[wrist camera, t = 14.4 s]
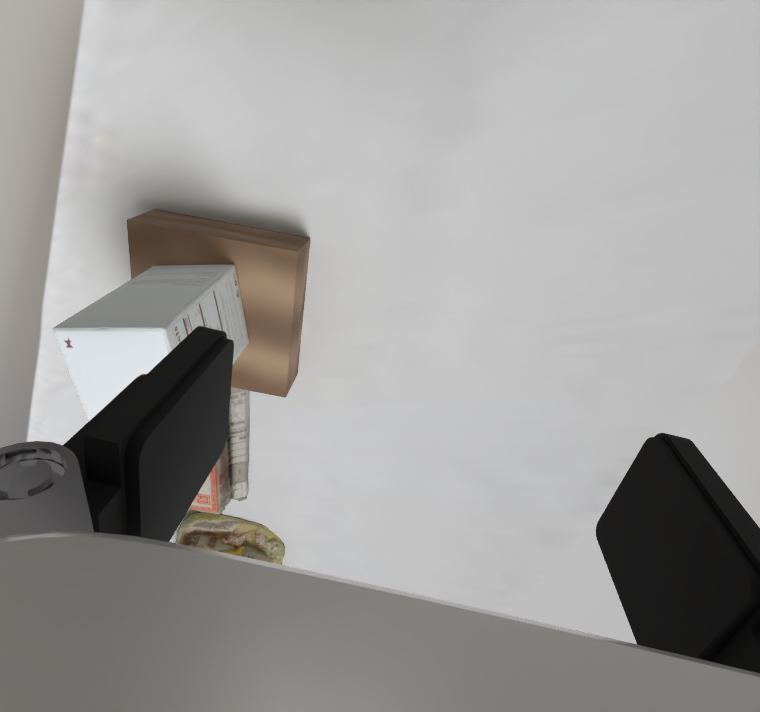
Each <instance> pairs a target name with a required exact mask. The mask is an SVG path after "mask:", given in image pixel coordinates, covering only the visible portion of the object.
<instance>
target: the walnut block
mask: <svg viewBox="0 0 760 712" xmlns="http://www.w3.org/2000/svg"><path fill="white" fill-rule="evenodd" d="M127 228H128V241H129V253H130V265H131V278H132V279H133V278H135V277H136V276H138V275H139V274H141V273H143V272H145V271H146V270H148V269H149V268H151V267H152V266H165V265H235V269H236V274H237V279H238V284H239V290H240V295H241V300H242V306H243V312H244V317H245V322H246V327H247V333H248V339H249V344H248V345H247V346H246V348H245V349H244V351H243V352H242V353H241V355H240V356H239V357H238V359H237V360H236V361H235V363H234V364H233V367H232V380H231V387H233V388H239V389H244V390H249V391H254V392H260V393H265V394H270V395H276V396H281V397H286V396H287V394H288V392H289V390H290V388H291V386H292V384H293V382H294V380H295V378H296V376H297V373H298V363H299V352H300V342H301V331H302V321H303V310H304V300H305V289H306V279H307V269H308V258H309V248H310V238H306V237H301V236H296V235H290V234H285V233H279V232H274V231H269V230H263V229H258V228H253V227H247V226H242V225H236V224H231V223H226V222H220V221H215V220H210V219H204V218H199V217H194V216H188V215H183V214H177V213H172V212H167V211H161V210H156V209H155V210H152V211H149V212H147V213H144V214H141V215H139V216H136V217H133V218H131V219H128V220H127Z"/></svg>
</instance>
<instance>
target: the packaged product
mask: <svg viewBox="0 0 760 712" xmlns="http://www.w3.org/2000/svg"><path fill="white" fill-rule="evenodd" d="M249 413H250V408H249V390H244V389H239V388H233V387H231V393H230V406H229V418H228V431H227V440H226V444H225V447H224V450H223V452H222V454H221V456H220V457H219V459H218V461H217V462H216V464H215V466H214V467H213V469H212V471H211V472H210V474H209V476H208V477H207V479H206V481H205V482H204V484H203V486H202V487H201V489H200V491H199V492H198V494H197V496H196V497H195V499H194V501H193V502H192V504H191V506H190V507H189V509H192V510H197V511H201V512H208V513H214V514H221V513H222V511H223V510H225V506H226V505H227V504H228V503H229V502H230V500H231V499H236V500H238V501H242V500H245V499H246V498H247V495H248V463H249V429H250V416H249Z"/></svg>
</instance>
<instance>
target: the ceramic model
mask: <svg viewBox="0 0 760 712" xmlns="http://www.w3.org/2000/svg"><path fill="white" fill-rule="evenodd" d="M178 532H179V536H178V538H177V540H176V542H175V543H176V544H182V545H187V546H193V547H198V548H203V549H209V550H213V551H218V552H223V553H228V554H232V555H237V556H242V557H247V558H251V559H256V560H261V561H266V562H270V563H275V564H279V565H282V558H283V557H284V552H285V547H284V545H283V543H282V541H281V540H280V539H279V537H278V536H276V535H275V534H274V533H273V532H272V531H270V530H269V529H268V528H266V527H265V526H263V525H261V524H258V523H254V522H250V521H246V520H243V519H239V518H235V517H231V516H226V515H220V514H214V513H207V512H204V513H194V514H192V515H190V516H189V517H188V518H187V519H186V520H184V521H183V522H182V524H181V525H180V527H179V531H178Z"/></svg>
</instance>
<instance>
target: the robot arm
mask: <svg viewBox="0 0 760 712" xmlns="http://www.w3.org/2000/svg"><path fill="white" fill-rule="evenodd" d="M233 354H234V341H233V340H230V339H227V335H226V332H224V331H220V330H216V329H211V328H207V327H203V326H198V327H196V328H195V329H194V330H193V331H192V332H191V333H190V334H189V335H188V336H187V337H186V338H185V339H184V340H182V341H181V342H180V343H179V344H178V345H177V346H176V347H175V348H174V349H173V350H172V351H171V352H170V353H169V354H168V355H167V356H166V357H164V358H163V359H162V360H161V361H160V362H159V363H158V364H157V365H156V366H155V367H154V368H153V369H152V370H151V371H150V372H149V373H148V374H141V375H140V376H138V377H137V378H136V379H134V380H133V381H132V382H131V383H130V384H129V385H128V386H127V387H126V388H125V389H124V390H123V391H121V392H120V393H119V394H118V395H117V396H116V397H115V398H114V399H113V400H112V401H111V402H110V403H108V404H107V405H106V406H105V407H104V408H103V409H102V410H101V411H100V412H99V413H98V414H97V415H96V416H94V417H93V418H92V419H91V420H90V421H89V422H88V423H87V424H86V425H85V426H84V427H83V428H81V429H80V430H79V431H78V432H77V433H76V434H75V435H74V436H73V437H72V438H71V439H70V440H68V441H67V442H66V443H65V444H64V445H59V444H56V443H53V442H40V441H34V442H24V443H17V444H14V445H10V446H6V447H2V448H0V712H760V528H759V527H758V526H757V524H756V523H755V522H754V520H753V519H752V518H751V517H750V515H749V514H748V513H747V511H746V510H745V509H744V508H743V506H742V505H741V504H740V502H739V501H738V500H737V499H736V497H735V496H734V495H733V494H732V492H731V491H730V490H729V488H728V487H727V486H726V484H725V483H724V482H723V481H722V479H721V478H720V477H719V476H718V474H717V473H716V472H715V470H714V469H713V468H712V467H711V465H710V464H709V463H708V461H707V460H706V459H705V458H704V456H703V455H702V454H701V452H700V451H699V450H698V448H697V447H696V446H695V445H694V443H693V442H692V441H691V440H689V439H686V438H682V437H678V436H674V435H669V434H665V433H660V434H657V435H656V436H655V437H651V438H648V439H647V440H646V441H645V443H644V445H643V446H642V448H641V450H640V451H639V453H638V455H637V456H636V458H635V460H634V462H633V463H632V465H631V467H630V468H629V470H628V472H627V473H626V475H625V477H624V479H623V480H622V482H621V484H620V485H619V487H618V489H617V490H616V492H615V494H614V496H613V497H612V499H611V501H610V502H609V504H608V506H607V507H606V509H605V511H604V513H603V514H602V516H601V518H600V519H599V521H598V523H597V527H596V537H597V540H598V543H599V546H600V548H601V551H602V553H603V556H604V559H605V561H606V564H607V566H608V569H609V572H610V574H611V577H612V580H613V582H614V585H615V587H616V590H617V593H618V595H619V598H620V600H621V603H622V606H623V608H624V611H625V613H626V616H627V619H628V621H629V624H630V626H631V629H632V632H633V634H634V637H635V639H636V642H637V644H632V643H628V642H623V641H619V640H615V639H611V638H606V637H602V636H598V635H593V634H589V633H584V632H580V631H575V630H572V629H567V628H563V627H558V626H554V625H549V624H545V623H541V622H536V621H532V620H528V619H523V618H519V617H514V616H510V615H505V614H501V613H497V612H492V611H488V610H483V609H479V608H474V607H470V606H465V605H461V604H456V603H452V602H447V601H443V600H439V599H434V598H430V597H425V596H421V595H416V594H412V593H407V592H403V591H398V590H394V589H389V588H384V587H380V586H375V585H371V584H366V583H362V582H357V581H352V580H348V579H343V578H339V577H334V576H330V575H325V574H320V573H316V572H311V571H307V570H302V569H298V568H293V567H289V566H284V565H279V564H275V563H270V562H266V561H261V560H256V559H251V558H247V557H242V556H237V555H232V554H228V553H223V552H218V551H213V550H209V549H203V548H198V547H193V546H187V545H182V544H176V543H171V542H169V541H170V539H171V537H172V536H173V534H174V532H175V531H176V529H177V527H178V526H179V524H180V522H181V521H182V519H183V517H184V516H185V514H186V512H187V511H188V509H189V507H190V506H191V504H192V502H193V501H194V499H195V497H196V496H197V494H198V492H199V491H200V489H201V487H202V486H203V484H204V482H205V481H206V479H207V477H208V476H209V474H210V472H211V471H212V469H213V467H214V466H215V464H216V462H217V461H218V459H219V457H220V456H221V454H222V452H223V450H224V447H225V444H226V440H227V431H228V418H229V406H230V393H231V380H232V367H233Z"/></svg>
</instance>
